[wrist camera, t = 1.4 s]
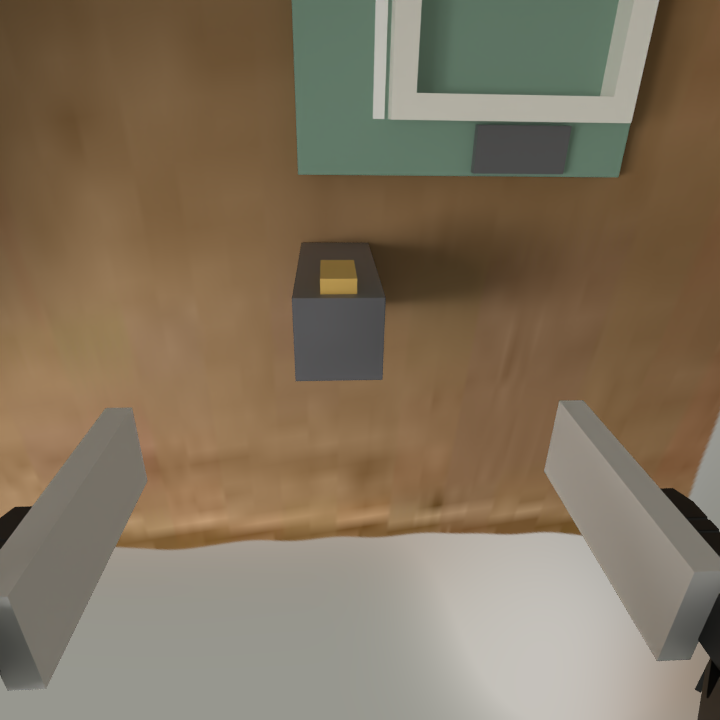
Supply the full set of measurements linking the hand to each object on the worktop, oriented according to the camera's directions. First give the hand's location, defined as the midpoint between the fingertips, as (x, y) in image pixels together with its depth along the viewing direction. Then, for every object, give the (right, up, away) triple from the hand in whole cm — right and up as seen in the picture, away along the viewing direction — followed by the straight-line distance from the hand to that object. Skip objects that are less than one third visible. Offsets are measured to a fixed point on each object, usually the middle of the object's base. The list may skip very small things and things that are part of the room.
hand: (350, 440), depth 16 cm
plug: (-1, +8, +16) cm, 18 cm away
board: (+6, +20, +10) cm, 23 cm away
